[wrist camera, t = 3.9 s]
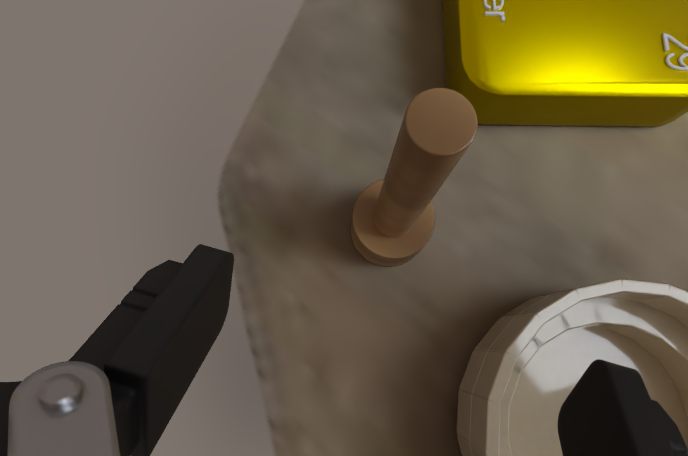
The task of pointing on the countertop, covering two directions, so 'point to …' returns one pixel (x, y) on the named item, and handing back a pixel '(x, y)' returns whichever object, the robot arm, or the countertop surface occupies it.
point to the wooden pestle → (413, 178)
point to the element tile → (569, 60)
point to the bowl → (570, 362)
